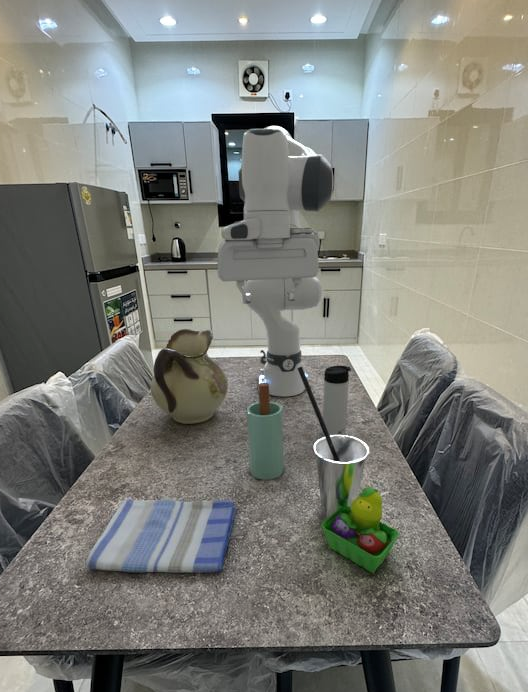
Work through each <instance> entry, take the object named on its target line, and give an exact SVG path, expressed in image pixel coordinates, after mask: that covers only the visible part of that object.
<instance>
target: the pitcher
mask: <svg viewBox="0 0 528 692" xmlns="http://www.w3.org/2000/svg"><path fill="white" fill-rule="evenodd" d="M212 341H213V331H212V330H209V329H207V330H195V329H191V328H190V329H189V328H184V329H182V328H181V329H179V330H177V331H175V332H173V334H172V335H170V339H169V340H168V341H167V344H166V346H165V347H164V348H162V349H160V351H158V354H157V355H156V357H155V359H154V363H153V377H152V380H151V381H150V393H151V396H152V399H153V401H154V403H155V404H156V406H157V407H158V408H159V409H160V410H161V411H162V412H164V413H165V414H167V415H169V416H170V417H172V419H173V420H174V421H175V422H176V423H179V424H186V425H191V424H199V423H204V422H206V421H208V420H210V419H211V418H212V417H213V416H214V414H215V412H216V411H217V410H218V409H219V408H220V407H221V405H222V404H223V402H224V401H225V399H226V397H227V394H228V390H229V381H228V378H227V375H226V373H225V371H224V370H223V369H222V367H221V366H220V365H219V364H218V363H217V362H215V361H214V359H212V358H211V357H210V356H209V354H208V351H209V349H210V346H211V344H212Z"/></svg>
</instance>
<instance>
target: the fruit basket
mask: <svg viewBox="0 0 528 692" xmlns="http://www.w3.org/2000/svg"><path fill="white" fill-rule="evenodd" d="M382 504H383V497H382V496H381V494H379V489H377V488H372V487H370V486H367V487H365V488H364V489H362V491H361V492H359V493H358V497H357V498H356V499H355V500H354V501H353V502H352V503H351V506H350V507H349V506H346V507H340V508H339V509H338V510H337V511H335V512H334V513H333V514H332V515H331V516H330V517H329V518H327V519H326V520H324V521H323V522H322V523H321V525H320V526H321V528H322V531H323V532H324V536H325V538H326V542H327V546H328V548H330V549H331V550H333V551H335V552H338V553H339V554H340V555H341V556H343V557H345V558H346V559H349V560H350V561H352V562H353V563H355V564H356V565H358V566H359V567H363V569H365V570H366V571H368V572H369V573H371V574H374V573H375V572H376V570H377V569H378V568H380V566H381V564H383V562H384V561H385V559H386V558H388V556H389V554H390V552H391V550H392V548H393V546H394V544H395V543H396V541H397V540H398V538H399V535H400V532H399V531H398V530H397V529H395V528H393V527H391V526H389V525H387V524H385V523H384V522H381V520H382V518H383V508H382V507H383V506H382Z"/></svg>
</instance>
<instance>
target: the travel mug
mask: <svg viewBox="0 0 528 692" xmlns="http://www.w3.org/2000/svg"><path fill="white" fill-rule="evenodd" d="M351 368H352V367H351V366H347V365H333V366H332V365H331V366H329V367H326V368H325V370H324V374H323V375H324V377H323V399H322V418H323V420H324V423H325V425H326V428H327V430H328V433H329V435H346V431H347V416H348V415H347V414H348V399H349V381H350V380H349V378H350V375H349V373H350V372H351V371H352V369H351ZM321 431H322V430H321ZM323 437H325V436H324V433H323V431H322V432H321V438H323Z"/></svg>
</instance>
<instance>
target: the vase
mask: <svg viewBox="0 0 528 692" xmlns="http://www.w3.org/2000/svg"><path fill="white" fill-rule="evenodd" d="M269 402H270V414H269V415H260V405H259V401H258V402H253V403H251V404H249V405H248V406H247V408H246V424H247V439H248V440H247V441H248V442H247V443H248V456H249V457H248V459H249V471H250V474H251V476H252V477H254V478H256V479H258V480H265V481H266V480H273V479H277V478H278V477H280V476H281V475H282V474H283V472H284V428H283V427H284V425H283V424H284V423H283V422H284V421H283V407H282V405H281V404H280V403H277V402H273V401H269Z"/></svg>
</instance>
